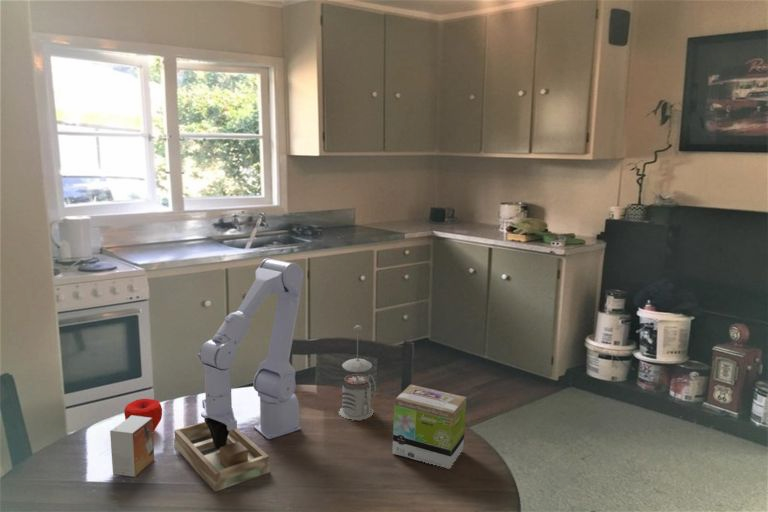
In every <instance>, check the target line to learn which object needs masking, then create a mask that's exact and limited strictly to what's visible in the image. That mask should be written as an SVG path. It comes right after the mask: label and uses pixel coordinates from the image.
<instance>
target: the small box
mask: <svg viewBox="0 0 768 512" xmlns="http://www.w3.org/2000/svg"><path fill="white" fill-rule="evenodd" d="M109 433H110V436H109V437H110V448H111V449H110V452H111V465H112V474H113V475H118V476H125V477H131V478H132V477H134V478H135V477H136V476H138V474H140V473H141V472H142V471H143V470H144V469H145V468H146V467H148V466H149V465H150V464H151V463H153V460H154V461H155V447H154V446H155V445H154V443H155V442H154V431H153V419H152V418H149V417H141V416H133V415H131V416H130V417H129V418H128V419H126V420H123V422H121V423H120V424H119V423H118V424H117V426H115V427H114V428H112V429H110V430H109Z"/></svg>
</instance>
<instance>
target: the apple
mask: <svg viewBox="0 0 768 512" xmlns="http://www.w3.org/2000/svg"><path fill="white" fill-rule="evenodd" d="M123 412H124V413H123V414H124V419H125V420H126V419H128V418H129V417H130V416H131V415H133V416H141V417H149V418H152V419H153V432H155V430H156V428H157V427H158V426H159V424H160V423H161V420H162V416H163V407H162V403H161V402H159V400H157V399H152V398H140V399H136V400H133V401H131V402H128V404H126V406H125V407H124V411H123ZM125 420H124V421H125Z"/></svg>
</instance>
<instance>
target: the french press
mask: <svg viewBox="0 0 768 512" xmlns="http://www.w3.org/2000/svg"><path fill="white" fill-rule="evenodd" d="M362 329H363V328H362V326H361V325H358V324H357V325H355V326H354V330H355V331H356V332H357V334H356V335H357V336H356V358H351V359H348V360H346V361H344V362H343V363H342V364H341V366H342V368H343V370H345V371H346V372H350V373H352V374H348V375H346V376H345V377H344V378H343V381H344V382H343V383H342V391H341V392H342V401H341V402H342V405H341V406H342V407H341V408H340V409H339V410H340V411H339V410H338V415H339V416H340V415H341V416H342V417H344V418H343V419H345V418H347V419H352V420H351V421H354V420H357V421H363V420H362V419H365V418H368V417H370V416H372V415H373V416H374V414H375V411H374V409H373V408H372V407H371V405H372V404H371V403H372V401H371V400H373V399H374V398H375V396H376V392H377V391H376V389H377V386H376V382H375V379H374V377H373V375H371V373H368V375H364V374H358V373H363V372H367V371H369V370H371V369H372V367H373V364H372V362H370V361H368V360H366V359H364V358H358V356H359V332H360V331H361V330H362ZM353 373H355V374H353ZM371 379H372V381H373V385H374V393H373V396H372V383H371V382H370V381H371ZM364 386H369V387H364ZM356 387H357V388H356ZM359 387H362V388H359ZM373 411H374V412H373ZM373 413H374V414H373ZM341 416H340V417H341ZM373 416H372V417H373ZM342 417H341V418H342ZM370 418H371V417H370ZM347 419H346V420H347ZM358 419H359V420H358ZM365 420H366V419H365Z"/></svg>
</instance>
